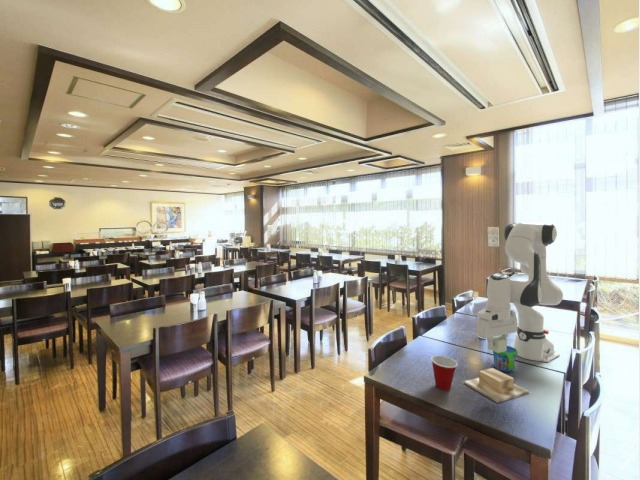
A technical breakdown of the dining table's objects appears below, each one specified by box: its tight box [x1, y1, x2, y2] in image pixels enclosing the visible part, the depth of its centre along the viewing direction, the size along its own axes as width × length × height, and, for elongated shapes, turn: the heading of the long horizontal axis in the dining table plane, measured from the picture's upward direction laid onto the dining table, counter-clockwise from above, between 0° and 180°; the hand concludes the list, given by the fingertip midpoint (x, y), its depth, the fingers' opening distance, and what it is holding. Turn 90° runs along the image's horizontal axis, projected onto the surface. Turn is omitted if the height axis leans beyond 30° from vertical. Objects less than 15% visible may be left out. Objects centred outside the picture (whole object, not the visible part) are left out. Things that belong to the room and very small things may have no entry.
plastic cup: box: [430, 355, 459, 392], centre depth 135 cm, size 11×11×12 cm
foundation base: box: [464, 367, 530, 404], centre depth 134 cm, size 18×16×6 cm
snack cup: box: [492, 345, 518, 373], centre depth 151 cm, size 16×10×10 cm
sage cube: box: [487, 335, 508, 353], centre depth 133 cm, size 5×5×5 cm
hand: (497, 344), depth 133 cm, fingers closed on sage cube, 5 cm apart
